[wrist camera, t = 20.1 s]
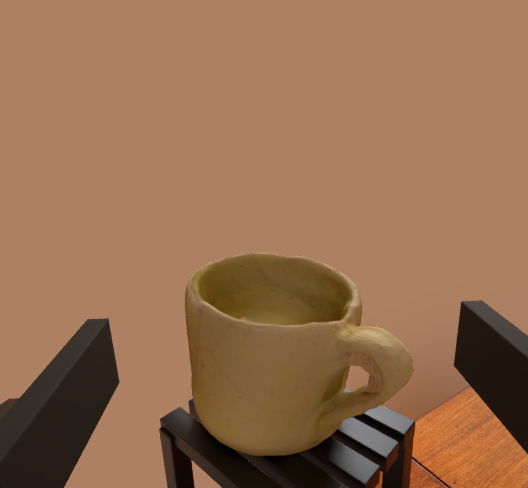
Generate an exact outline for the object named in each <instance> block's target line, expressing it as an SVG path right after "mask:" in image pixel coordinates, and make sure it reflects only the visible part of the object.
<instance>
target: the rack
mask: <svg viewBox="0 0 528 488" xmlns="http://www.w3.org/2000/svg"><path fill="white" fill-rule="evenodd" d="M344 391H345V392H352V390H350V389H348V388H346V387H345V390H344ZM189 410H190V414H189V413H187V412H186V411H185V410H184V409H182V408H181V407H179V408H177V409H175V410H174V411H172V412H170V413H169V414H167V415H166V416H164V417H162V418H161V419H160V422H161V428H160V429H159V431H160V438H161V444H162V451H163V459H164V466H165V473H166V479H167V486H168V488H195V487H194V480H193V471H192V462H191V460H192V461H194V462H195V463H196V464H197V465H198V466H199V467H200V468H201V469H202V470H203V471H205V472H206V473H207V474H208V475H209V476H210V477H211V478H212V479H213V480H214V481H216V482H217V483H218V484H219V485H220V486H221V487H222V488H375V487H376V486H377V484H378V483H379V477H380V471H382V472H383V480H382V488H409V484H410V472H411V460H412V449H413V437H414V431H415V421H414V420H412V419H409V418H407V417H405V416H403V415H401V414H399V413H397V412H395V411H393V410H391V409H389V408H387V407H385V406H383V405H380V406H378V407H376V408H374V409H370V410H368V411H366V412H365V413H363V414H361V415H357V416H354V417H351V418H348V419H346V420H343V422H342V424H341V425H340V427H339V428H338V429H337V430H336V431H335V432H334V433H333V434H332V435H331V436H329V437H328V438H326V439H325V440H324V441H322V442H321V443H320V444H318V445H317V446H315V447H312V448H310V449H307V450H305V451H301V452H297V453H294V454H290V455H276V456H253V455H249V454H246V453H243V452H240V451H237V450H234V449H232V448H230V447H229V446H227V445H225V444H223V443H221V442H219V441H218V440H217V439H216V438H215V437H214V436H212V435H211V434H210V433H209V432H208V431H207V429H206V428H205V427H204V426H203V424H201V421H200V419H199V417H198V415H197V412H196V409H195V406H194V401H193V399H191V400H190V401H189ZM192 416H193V417H192ZM196 419H197V420H198V421H197V420H196ZM239 453H240V454H239ZM243 456H244V457H245V458H244V457H243ZM248 460H249V461H248ZM253 464H254V465H253ZM257 467H258V468H259V469H258V468H257ZM262 471H263V472H262ZM267 475H268V476H267Z"/></svg>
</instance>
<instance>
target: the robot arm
mask: <svg viewBox="0 0 528 488" xmlns="http://www.w3.org/2000/svg"><path fill="white" fill-rule="evenodd" d="M454 366H455V368H456V369H457V370H458V371H459V372H460V374H461V375H462V376H463V377H464V378H465V380H466V381H467V382H468V383H469V384H470V385H471V387H472V388H473V389H474V390H475V391H476V393H477V394H478V395H479V396H480V397H481V399H482V400H483V401H484V402H485V403H486V405H487V406H488V407H489V408H490V409H491V411H492V412H493V413H494V414H495V415H496V417H497V418H498V419H499V420H500V421H501V423H502V424H503V425H504V426H505V427H506V429H507V430H508V431H509V432H510V433H511V435H512V436H513V437H514V438H515V439H516V441H517V442H518V443H519V444H520V445H521V447H522V448H523V449H524V450H525V451H526V453H527V454H528V336H527V335H526V334H525V333H523V332H522V331H521V330H519V329H518V328H517V327H515V326H514V325H513V324H512V323H510V322H509V321H508V320H506V319H505V318H504V317H502V316H501V315H500V314H498V313H497V312H496V311H494V310H493V309H492V308H491V307H489V306H488V305H487V304H485V303H484V302H483V301H465V302H461V309H460V317H459V326H458V334H457V343H456V352H455V360H454ZM118 384H119V378H118V372H117V366H116V360H115V355H114V348H113V343H112V337H111V331H110V325H109V319H108V318H107V319H88V320H87V321H86V322H85V323H84V324H83V326H81V328H80V329H79V330H78V331H77V332H76V334H75V335H74V336H73V337H72V338H71V339H70V340H69V342H68V343H67V344H66V345H65V346H64V347H63V348H62V350H61V351H60V352H59V353H58V354H57V355H56V357H55V358H54V359H53V360H52V361H51V362H50V364H49V365H48V366H47V367H46V368H45V369H44V371H43V372H42V373H41V374H40V375H39V376H38V377H37V379H36V380H35V381H34V382H33V383H32V384H31V386H30V387H29V388H28V389H27V390H26V391H25V393H24V394H23V395H22V396H21V397H20V398H16V399H8V400H7V401H5V402H4V403H2V404H1V405H0V488H64V486H65V485H66V482H67V481H68V479H69V477H70V475H71V473H72V471H73V469H74V467H75V466H76V464H77V462H78V460H79V458H80V456H81V454H82V452H83V450H84V448H85V447H86V445H87V443H88V441H89V439H90V437H91V435H92V433H93V431H94V429H95V428H96V426H97V424H98V422H99V420H100V418H101V416H102V414H103V412H104V410H105V408H106V407H107V405H108V403H109V401H110V399H111V397H112V395H113V393H114V391H115V390H116V387H117V386H118Z"/></svg>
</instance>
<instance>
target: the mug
mask: <svg viewBox="0 0 528 488" xmlns="http://www.w3.org/2000/svg"><path fill="white" fill-rule="evenodd" d="M185 313H186V325H187V334H188V343H189V351H190V362H191V370H192V395H193V401H194V406H195V409H196V412H197V415H198V417H199V419H200V421H201V423H202V424H203V426H204V427H205V428H206V429H207V431H208V432H209V433H210V434H211V435H212V436H214V437H215V438H216V439H217V440H218V441H219V442H221V443H223V444H225V445H227V446H229V447H230V448H232V449H234V450H237V451H240V452H243V453H246V454H249V455H253V456H276V455H290V454H294V453H297V452H301V451H305V450H307V449H310V448H312V447H315V446H317V445H318V444H320V443H321V442H322V441H324V440H325V439H326V438H328V437H329V436H331V435H332V434H333V433H334V432H335V431H336V430H337V429H338V428H339V427H340V425H341V424H342V422H343V420H346V419H348V418H351V417H354V416H357V415H361V414H363V413H365V412H366V411H368V410H370V409H374V408H376V407H378V406H380V405H382V404H383V403H385V402H386V401H387V400H389V399H390V398H391V397H392V396H393V395H395V394H396V393H397V392H398V391H399V390H400V389H401V388H403V387H404V386H405V385H406V384H407V383H408V381H409V380H410V377H411V375H412V373H413V371H414V369H413V362H412V357H411V355H410V354H409V352H408V350H407V349H406V347H405V346H404V345H403V344H402V343H401V342H400V341H399V340H398V339H397V338H396V337H394V336H393V335H392V334H390V333H389V332H387V331H385V330H384V329H381V328H378V327H375V326H360V323H361V315H362V303H361V298H360V294H359V291H358V289H357V286H356V285H355V284H354V283H353V282H352V280H350V279H349V278H348V277H347V276H345V275H344V274H343V273H341V272H339V271H338V270H336V269H334V268H332V267H330V266H328V265H326V264H324V263H322V262H319V261H317V260H312V259H309V258H306V257H303V256H282V255H276V254H272V253H256V252H251V253H247V254H240V255H236V256H230V257H225V258H222V259H220V260H216V261H211V262H209V263H208V264H206V265H205V266H204V267H202V268H200V269H198V270H197V271H196V272H195V273H194V274H193V275H192V277H191V278H190V280H189V282H188V285H187V288H186V293H185ZM350 365H355V366H361V367H362V368H363V369H364V370H365V371H366V372H368V373H369V374H370V376H369V381H368V384H367V385H365V386H363V387H361V388H359V389H357V390H354V391H352V392H345V391H344V390H345V383H346V380H347V378H348V372H349V368H350Z"/></svg>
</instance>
